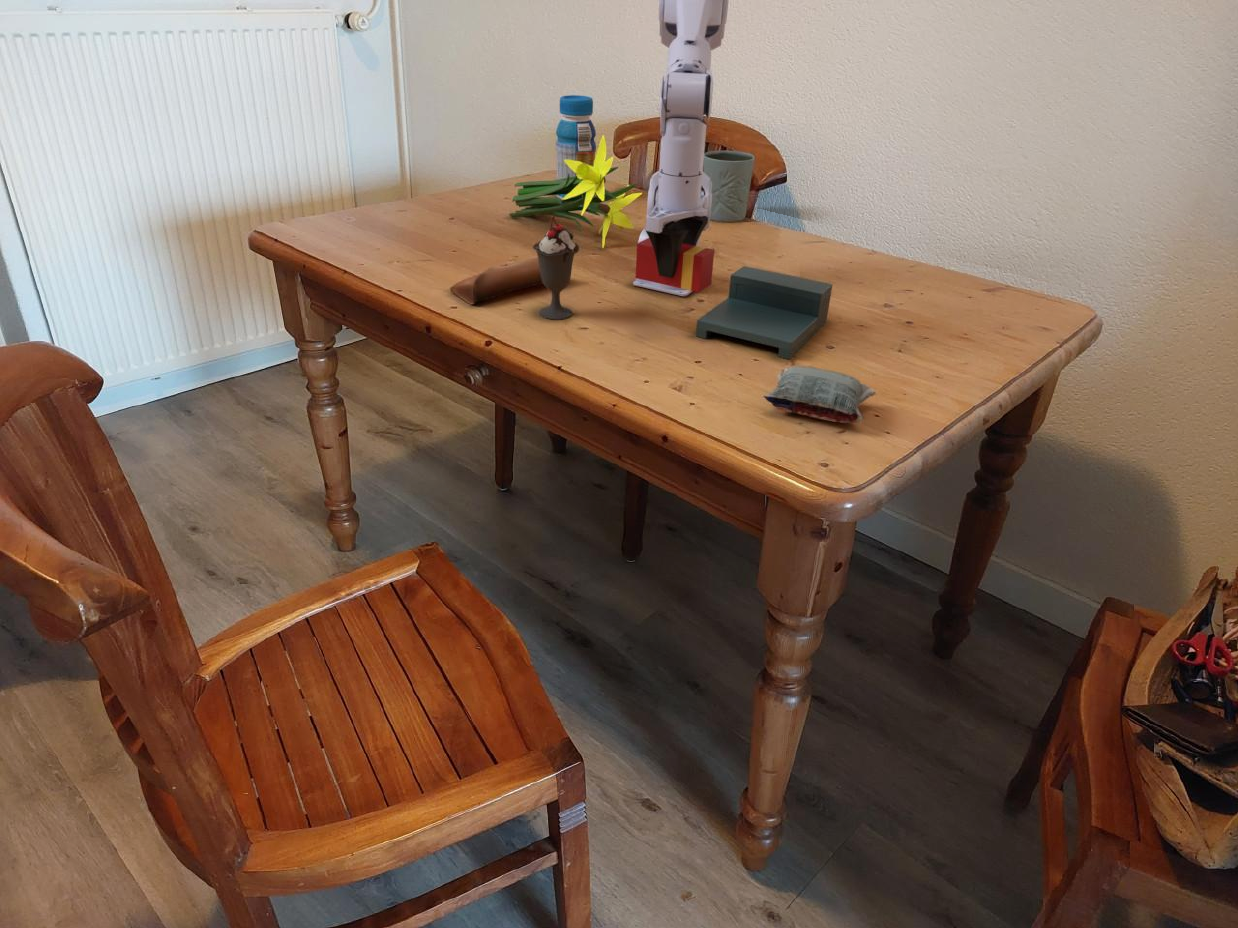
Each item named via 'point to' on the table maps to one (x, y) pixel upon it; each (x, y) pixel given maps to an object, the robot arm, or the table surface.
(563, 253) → the sundae
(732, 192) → the sage green ceramic cup
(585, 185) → the daffodil flowers
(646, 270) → the candy bar
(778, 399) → the packaged food
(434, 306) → the table surface
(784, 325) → the shelf rack
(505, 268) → the sunglasses case
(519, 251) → the table surface
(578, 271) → the table surface
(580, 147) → the beverage bottle
